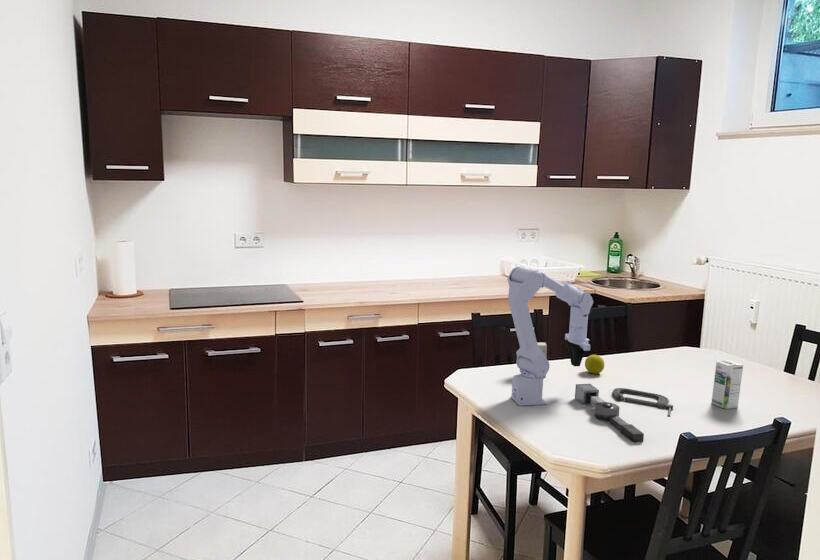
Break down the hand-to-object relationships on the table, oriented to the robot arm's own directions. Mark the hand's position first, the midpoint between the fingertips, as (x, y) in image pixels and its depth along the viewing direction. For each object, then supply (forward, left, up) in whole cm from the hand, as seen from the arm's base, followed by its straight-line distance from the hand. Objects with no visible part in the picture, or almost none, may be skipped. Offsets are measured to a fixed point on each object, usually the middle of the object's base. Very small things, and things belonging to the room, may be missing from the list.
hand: (575, 365), depth 199 cm
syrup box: (+44, -18, -10) cm, 48 cm away
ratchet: (0, -27, -9) cm, 28 cm away
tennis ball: (+17, +18, -10) cm, 27 cm away
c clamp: (+19, -11, -10) cm, 24 cm away
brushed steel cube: (0, -9, -10) cm, 13 cm away
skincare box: (-6, +18, -10) cm, 21 cm away
